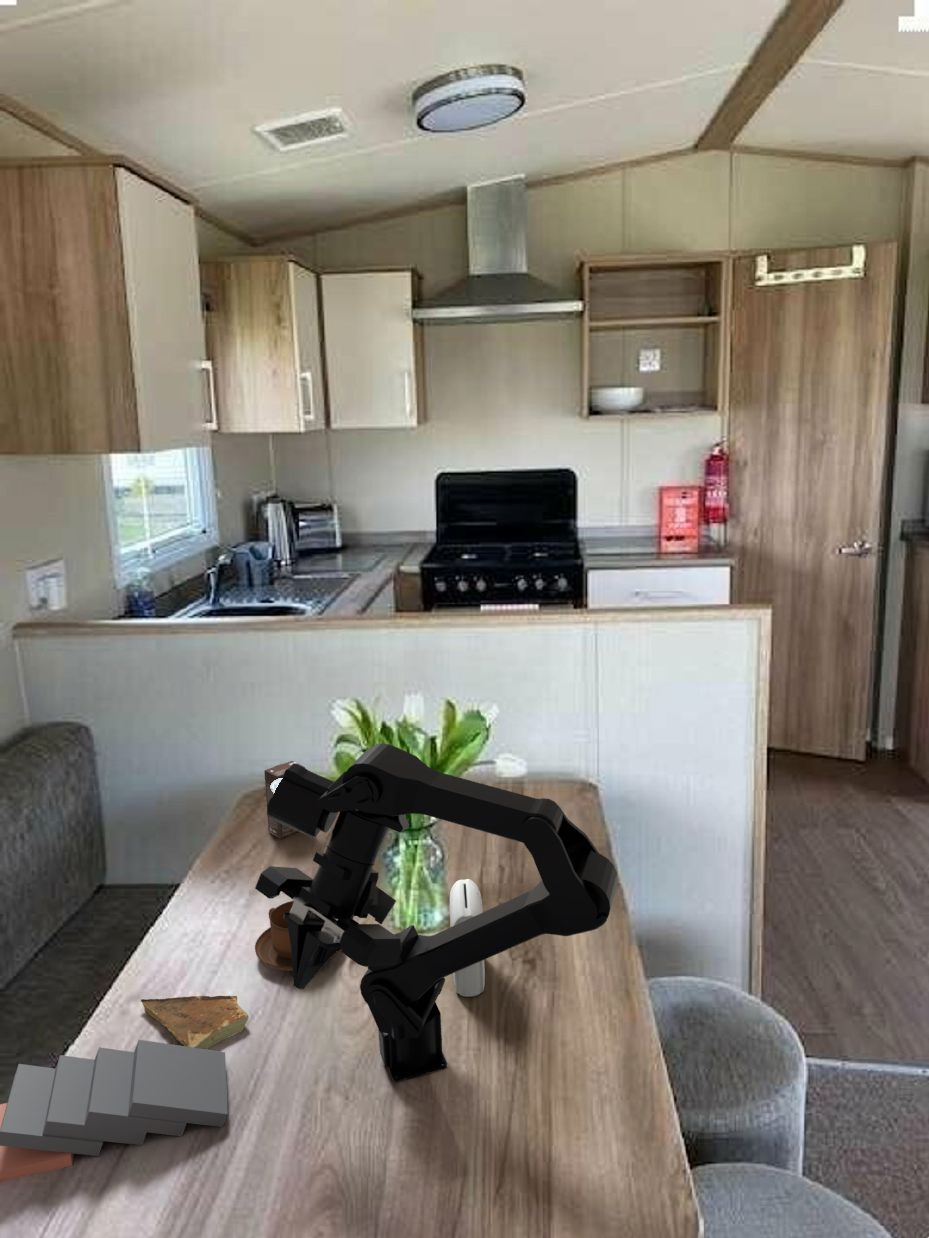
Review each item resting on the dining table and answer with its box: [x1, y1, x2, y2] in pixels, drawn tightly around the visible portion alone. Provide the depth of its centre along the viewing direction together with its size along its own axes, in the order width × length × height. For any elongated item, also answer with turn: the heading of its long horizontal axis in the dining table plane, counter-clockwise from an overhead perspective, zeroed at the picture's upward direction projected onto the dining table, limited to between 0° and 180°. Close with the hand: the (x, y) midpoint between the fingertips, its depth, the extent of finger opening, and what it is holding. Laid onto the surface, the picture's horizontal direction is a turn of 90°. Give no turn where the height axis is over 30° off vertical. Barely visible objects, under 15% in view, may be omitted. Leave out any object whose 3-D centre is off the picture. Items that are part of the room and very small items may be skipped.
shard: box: [140, 995, 249, 1050], centre depth 118 cm, size 13×9×2 cm
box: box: [264, 760, 306, 839], centre depth 165 cm, size 6×4×12 cm
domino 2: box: [0, 1102, 75, 1183], centre depth 99 cm, size 2×10×10 cm
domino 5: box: [128, 1039, 228, 1128], centre depth 103 cm, size 2×10×10 cm
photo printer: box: [449, 878, 486, 998], centre depth 123 cm, size 10×4×12 cm, turn 2°
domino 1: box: [0, 1063, 104, 1157], centre depth 100 cm, size 2×10×10 cm
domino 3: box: [42, 1054, 148, 1146], centre depth 101 cm, size 2×10×10 cm
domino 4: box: [85, 1046, 187, 1137], centre depth 102 cm, size 2×10×10 cm
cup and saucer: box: [254, 900, 294, 972], centre depth 130 cm, size 12×12×6 cm
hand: (298, 987), depth 103 cm, fingers closed
